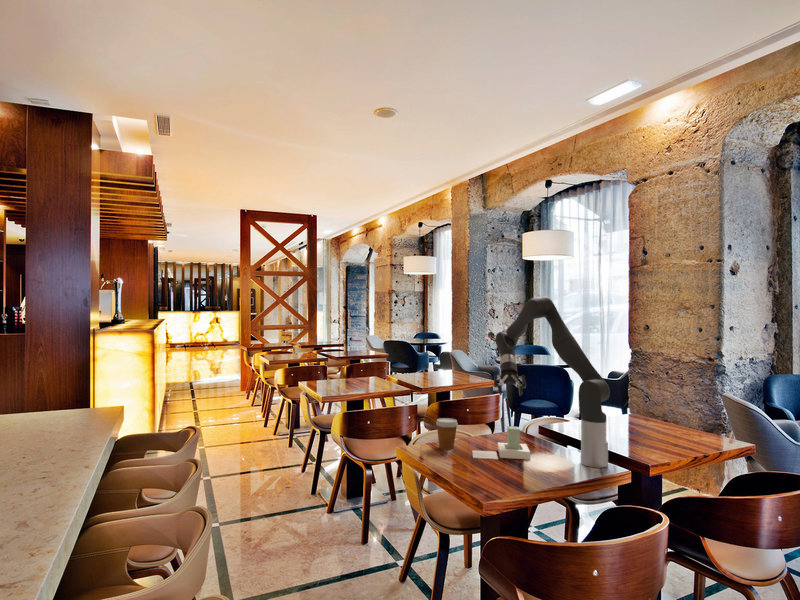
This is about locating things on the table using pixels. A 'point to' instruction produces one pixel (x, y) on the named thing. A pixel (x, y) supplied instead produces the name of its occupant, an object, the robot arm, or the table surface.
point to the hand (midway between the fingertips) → (510, 394)
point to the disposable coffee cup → (446, 433)
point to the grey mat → (485, 455)
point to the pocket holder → (513, 451)
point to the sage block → (513, 438)
